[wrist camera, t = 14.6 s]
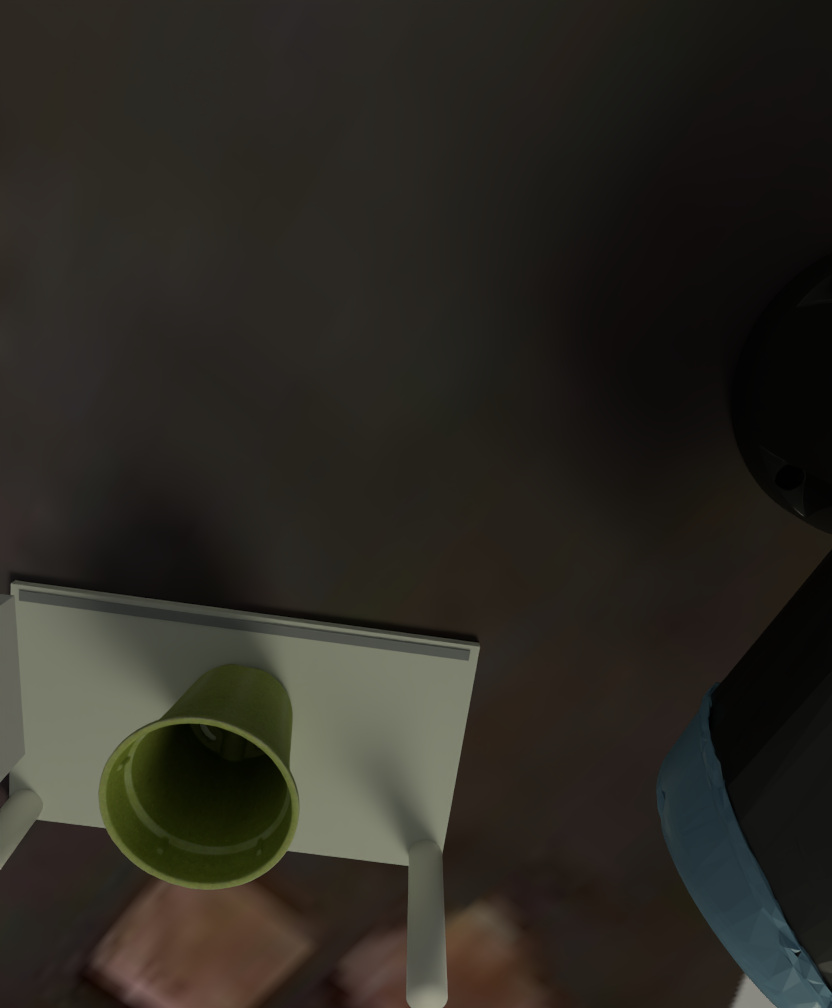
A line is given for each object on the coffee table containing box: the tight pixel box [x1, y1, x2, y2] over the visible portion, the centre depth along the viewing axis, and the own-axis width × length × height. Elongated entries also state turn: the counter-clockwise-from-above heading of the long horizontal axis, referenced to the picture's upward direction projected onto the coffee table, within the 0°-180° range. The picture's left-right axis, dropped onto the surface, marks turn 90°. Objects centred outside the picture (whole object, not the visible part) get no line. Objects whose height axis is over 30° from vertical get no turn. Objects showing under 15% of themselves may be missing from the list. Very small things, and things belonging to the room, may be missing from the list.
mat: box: [0, 580, 480, 1008], centre depth 41 cm, size 26×15×10 cm, turn 82°
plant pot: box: [98, 664, 300, 889], centre depth 41 cm, size 9×9×9 cm
